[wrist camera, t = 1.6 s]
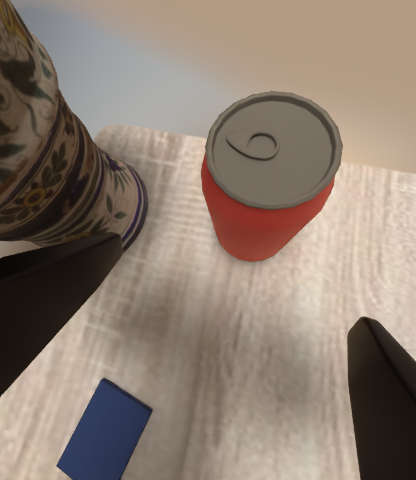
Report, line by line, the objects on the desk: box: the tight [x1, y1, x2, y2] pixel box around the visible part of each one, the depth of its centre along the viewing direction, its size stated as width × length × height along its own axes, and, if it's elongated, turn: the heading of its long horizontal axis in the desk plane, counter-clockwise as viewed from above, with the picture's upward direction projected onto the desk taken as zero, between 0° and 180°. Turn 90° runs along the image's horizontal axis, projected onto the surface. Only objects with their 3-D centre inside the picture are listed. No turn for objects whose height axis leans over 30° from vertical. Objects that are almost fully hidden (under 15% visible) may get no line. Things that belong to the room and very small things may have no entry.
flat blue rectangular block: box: [57, 378, 152, 480], centre depth 18 cm, size 7×5×1 cm
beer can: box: [201, 91, 343, 262], centre depth 15 cm, size 7×7×12 cm
